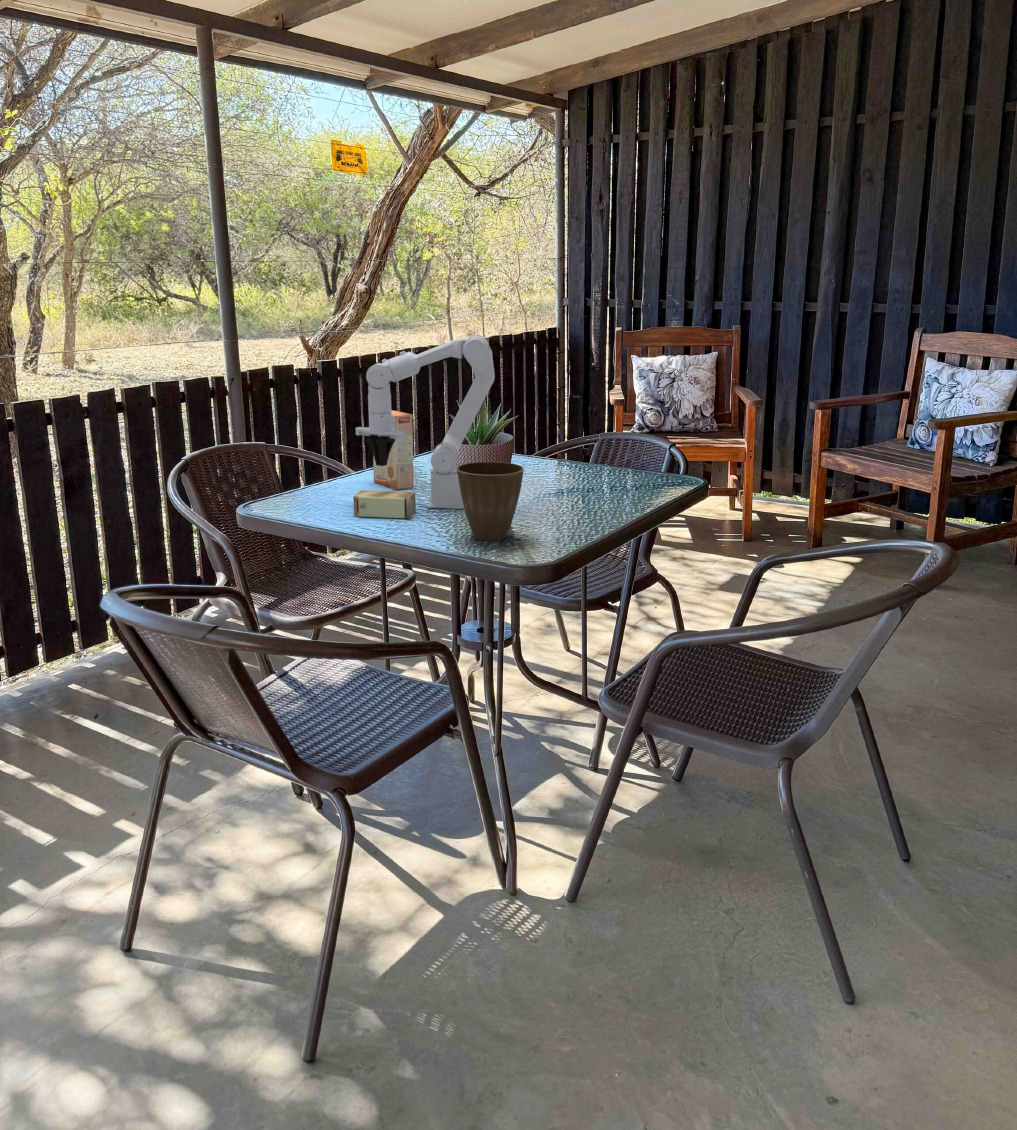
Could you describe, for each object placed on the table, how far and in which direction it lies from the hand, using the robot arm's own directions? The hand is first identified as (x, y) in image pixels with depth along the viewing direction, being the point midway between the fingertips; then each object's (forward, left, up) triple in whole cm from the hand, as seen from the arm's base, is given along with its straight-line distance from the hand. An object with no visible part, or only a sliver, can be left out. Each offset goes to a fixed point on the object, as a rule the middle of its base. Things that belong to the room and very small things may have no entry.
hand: (381, 465), depth 245 cm
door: (-4, +14, -10) cm, 18 cm away
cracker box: (+3, -25, -11) cm, 27 cm away
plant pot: (-32, +28, -11) cm, 44 cm away
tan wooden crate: (-3, +10, -10) cm, 14 cm away
